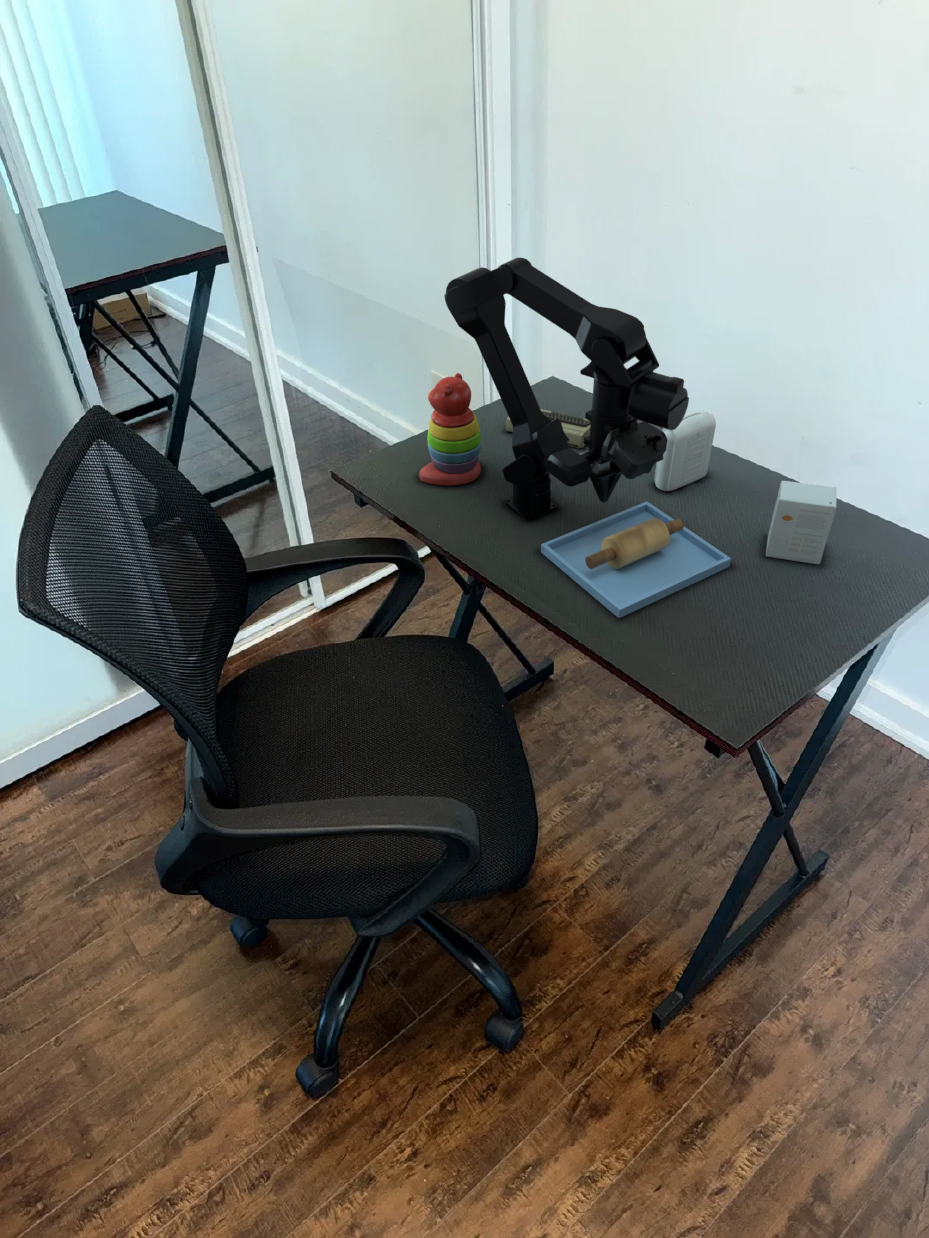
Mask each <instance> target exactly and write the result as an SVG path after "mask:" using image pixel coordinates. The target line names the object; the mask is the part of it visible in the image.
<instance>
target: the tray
mask: <svg viewBox="0 0 929 1238" xmlns="http://www.w3.org/2000/svg"><path fill="white" fill-rule="evenodd" d="M652 518H658V519H660V520H661V521H662V522H663V523H664V524H665V523H667V522H670V521H672V520H674V518H673V517H671V516H670V515H668V514H666V512H663V511H662V510H661V509H659V508H658V507H656V506H654V505H653V504H652V503H650V502H649V501H644V502H642V503H640V504H637V505H634V506H632V507H629V508H627V509H624V510H622V511H619V512H617V513H615V514H612V515H610V516H607V517H605V518H601V519H600V520H598V521H595V522H593V523H590V524H587V525H585V526H583V527H580V528H578V529H576V530H573V531H570V532H567V533H565V534H563V535H561V536H558V537H555V538H553V539H551V540H548V541H546V542H543V543H541V544H540V553H541V554H542V555H543V556H544V557H546V559H548V560H549V561H550V562H552V563H553V564H554V565H555V566H556V567H557V568H559V569H560V570H561V571H562V572H563V573H564V574H566V576H568V577H569V578H570V579H572V581H574V582H575V583H577V585H578V586H580V587H581V588H582V589H584V590H585V592H587V593H588V594H589V595H590V596H591V597H593V598H594V599H595V600H596V601H598V602H599V603H600V604H601V605H602V606H603V607H604V608H606V609H607V610H608V611H609V612H611V614H613V615H614V616H616V617H617V618H618V619H621V618H622V617H625V616H627V615H629V614H631V613H634V612H635V611H638V610H640V609H642V608H644V607H646V606H648V605H650V604H653V603H655V602H657V601H659V600H661V599H664V598H665V597H668V596H670V595H672V594H675V593H677V592H679V591H681V590H682V589H685V588H687V587H690V586H692V585H693V584H696V583H698V582H700V581H702V580H705V579H706V578H708V577H711V576H713V575H715V574H717V573H720V572H721V571H724V570H726V569H728V568H729V567H730V566H731V561H732V558H731V557H730V556H728V555H727V554H725V553H724V552H723V551H721V550H719V548H717V547H715V546H714V545H712V544H711V543H709V542H708V541H706V540H705V539H704V538H702V537H701V536H699V535H698V534H696V533H695V532H693V531H692V530H690V529H688V528H687V527H685V526H684V528H683V530H681V531H679V532H677V533H674V534H672V535H670V541H669V545H668V546H667V547H666V548H664V549H662V550H660V551H657V552H655V553H653V554H651V555H648V556H646V557H644V558H641V559H639V560H637V561H635V562H632V563H630V564H628V565H625V566H623V567H621V568H619V569H614V568H612V567H611V566H609V565H608V563H605V564H603V565H600V566H598V567H596V568H593V569H590V568H588V566H587V565H586V562H585V558H586V557H587V556H589V555H592V554H594V553H596V552H599V551H601V550H602V549H601V544H602V541H603V539H604V538H606V537H609V536H611V535H613V534H616V533H618V532H620V531H623V530H625V529H628V528H630V527H632V526H635V525H637V524H640V523H642V522H644V521H647V520H649V519H652Z"/></svg>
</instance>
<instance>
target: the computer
mask: <svg viewBox="0 0 929 1238" xmlns="http://www.w3.org/2000/svg"><path fill="white" fill-rule="evenodd" d="M540 410H541V411H542V413H543V414H544V415H546V416H547V417H548V418H549V419H551V420H552V421H553V420H554V419H556V418H558V419H559V420H560V421H561V423H562V427H563V430H564V433H565V434H566V436H567V437H568V438H569V441H568V442H567V443H568V447H572V448H577V449H582V448H584V447H585V446H586V445H585V444H584V437H587V436H590V425H591V422H590V421H589V420H587V419H585V417H584V418H583V417H578V416H574V415H570V414H565V413H561V412H556V411H552V410H547V409H542V408H540ZM505 432H511V433H513V426H512V423H511V421H510V418H509V416H508V415H507V417H506V422H505Z"/></svg>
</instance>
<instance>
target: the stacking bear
mask: <svg viewBox="0 0 929 1238" xmlns="http://www.w3.org/2000/svg"><path fill="white" fill-rule="evenodd" d="M463 378H464V377H463V375H462V374H461V373H459V372H456V373H455V375H454V376H446V377H443V378H441V379H440V380H439V381H437V383H436V384H435V386H434V388H432V389H430V390H429V392H428V394H427V400H428V402H429V404H430V406H431V408H432V409H433V411H432V413H431V414H430V419H429V425H428V430H427V437H426V439H427V447H428V452H429V455H430V460H431V462H429V463H428V464H426V465H425V466H423V467H422V468H421V469H420V471H419V473H418V478H419V480H420V481H422V482H423V483H426V484H430V485H436V486H461V485H465V484H468V483H471V482H473V481H476V479H477V478H478V477H479V476H480V475H481V471H482V467H481V464H480V462H479V458H480V452H481V448H482V433H481V429H480V426H479V425H480V424H479V421H478V418H477V416H476V414H475V413H474V412H473V410H472V409H471V408H470V405H471V402H472V390H471V387H470V385H469V384H468V383H467V381H465V380H464V379H463Z"/></svg>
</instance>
